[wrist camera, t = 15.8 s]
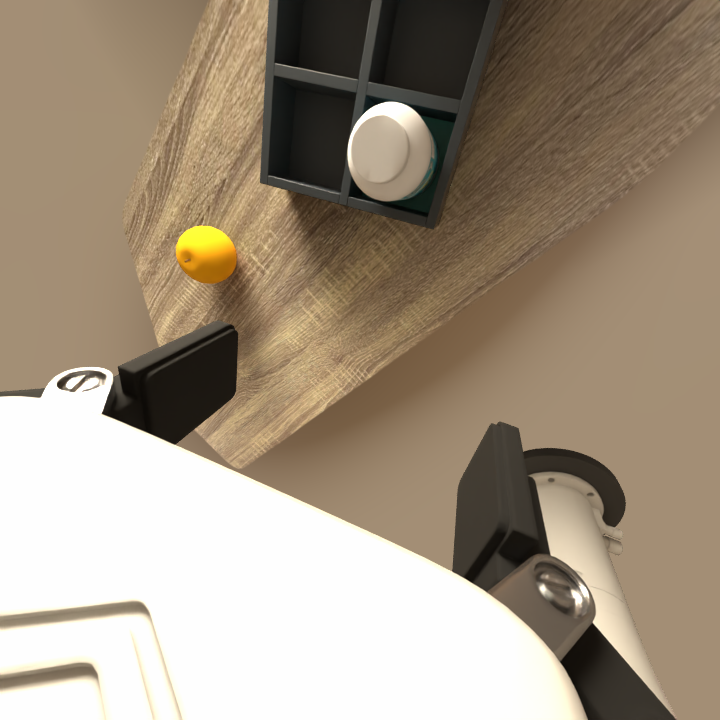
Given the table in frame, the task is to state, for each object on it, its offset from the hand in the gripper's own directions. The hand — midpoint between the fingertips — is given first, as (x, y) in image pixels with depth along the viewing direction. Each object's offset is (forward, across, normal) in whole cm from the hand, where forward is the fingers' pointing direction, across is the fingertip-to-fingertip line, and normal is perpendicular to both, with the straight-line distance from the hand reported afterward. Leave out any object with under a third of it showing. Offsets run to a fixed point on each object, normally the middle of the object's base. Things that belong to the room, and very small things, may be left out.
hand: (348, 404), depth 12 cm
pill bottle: (+34, +7, -9) cm, 36 cm away
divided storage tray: (+35, +12, -14) cm, 39 cm away
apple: (+35, +32, +8) cm, 48 cm away
